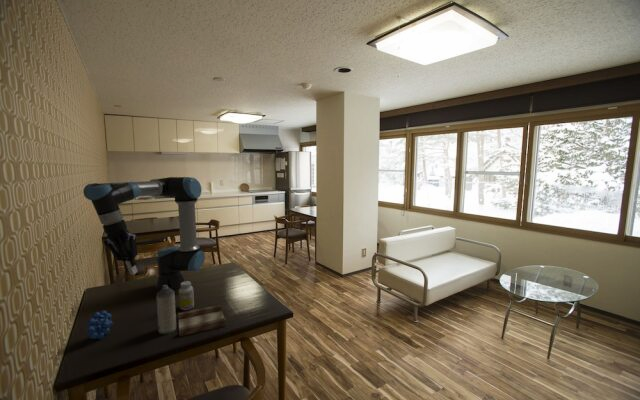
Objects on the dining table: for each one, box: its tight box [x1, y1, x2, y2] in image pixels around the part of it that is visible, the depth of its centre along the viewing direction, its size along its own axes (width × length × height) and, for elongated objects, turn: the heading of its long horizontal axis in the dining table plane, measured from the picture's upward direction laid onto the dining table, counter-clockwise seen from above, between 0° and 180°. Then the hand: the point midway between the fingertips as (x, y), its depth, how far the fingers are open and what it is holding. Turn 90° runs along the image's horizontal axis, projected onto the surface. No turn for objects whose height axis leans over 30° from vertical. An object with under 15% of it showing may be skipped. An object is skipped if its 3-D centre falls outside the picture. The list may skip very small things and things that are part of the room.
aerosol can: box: [156, 285, 177, 335], centre depth 124 cm, size 7×7×20 cm
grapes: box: [85, 309, 114, 340], centre depth 118 cm, size 12×7×12 cm, turn 175°
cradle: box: [177, 304, 228, 337], centre depth 131 cm, size 19×16×3 cm
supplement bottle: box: [178, 280, 195, 311], centre depth 144 cm, size 7×7×13 cm
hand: (134, 273), depth 123 cm, fingers closed
